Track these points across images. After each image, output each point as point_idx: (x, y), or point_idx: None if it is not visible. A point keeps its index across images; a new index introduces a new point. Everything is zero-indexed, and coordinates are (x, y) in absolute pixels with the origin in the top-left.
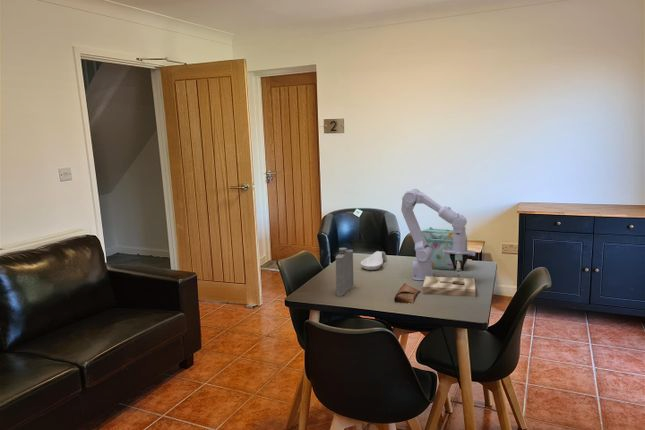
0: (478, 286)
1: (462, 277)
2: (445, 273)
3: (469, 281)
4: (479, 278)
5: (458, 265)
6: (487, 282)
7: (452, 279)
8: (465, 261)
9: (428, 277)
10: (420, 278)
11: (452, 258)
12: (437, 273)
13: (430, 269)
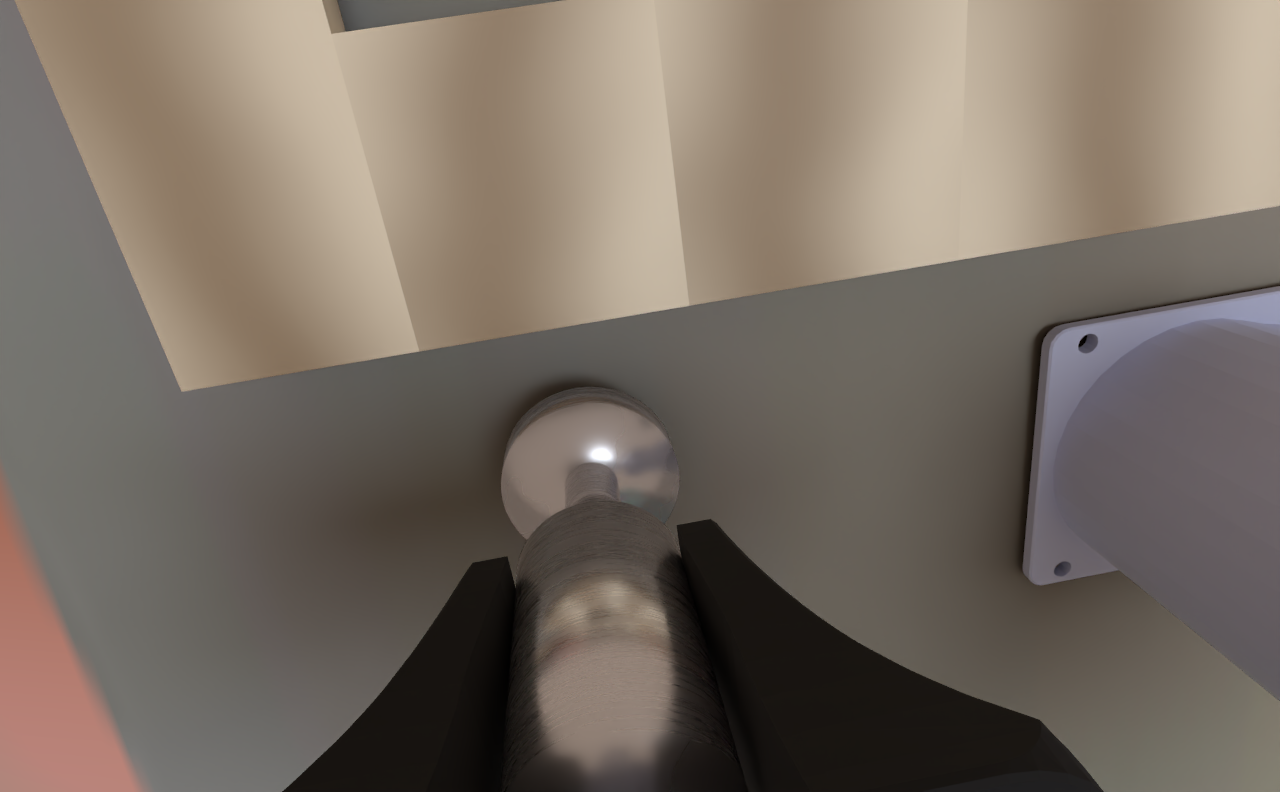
0: None
1: (510, 504)
2: None
3: (210, 103)
4: (297, 738)
5: (600, 615)
6: (90, 597)
7: (674, 146)
8: (309, 774)
9: (1239, 120)
10: (1266, 325)
11: (916, 729)
12: None
13: (1242, 481)
